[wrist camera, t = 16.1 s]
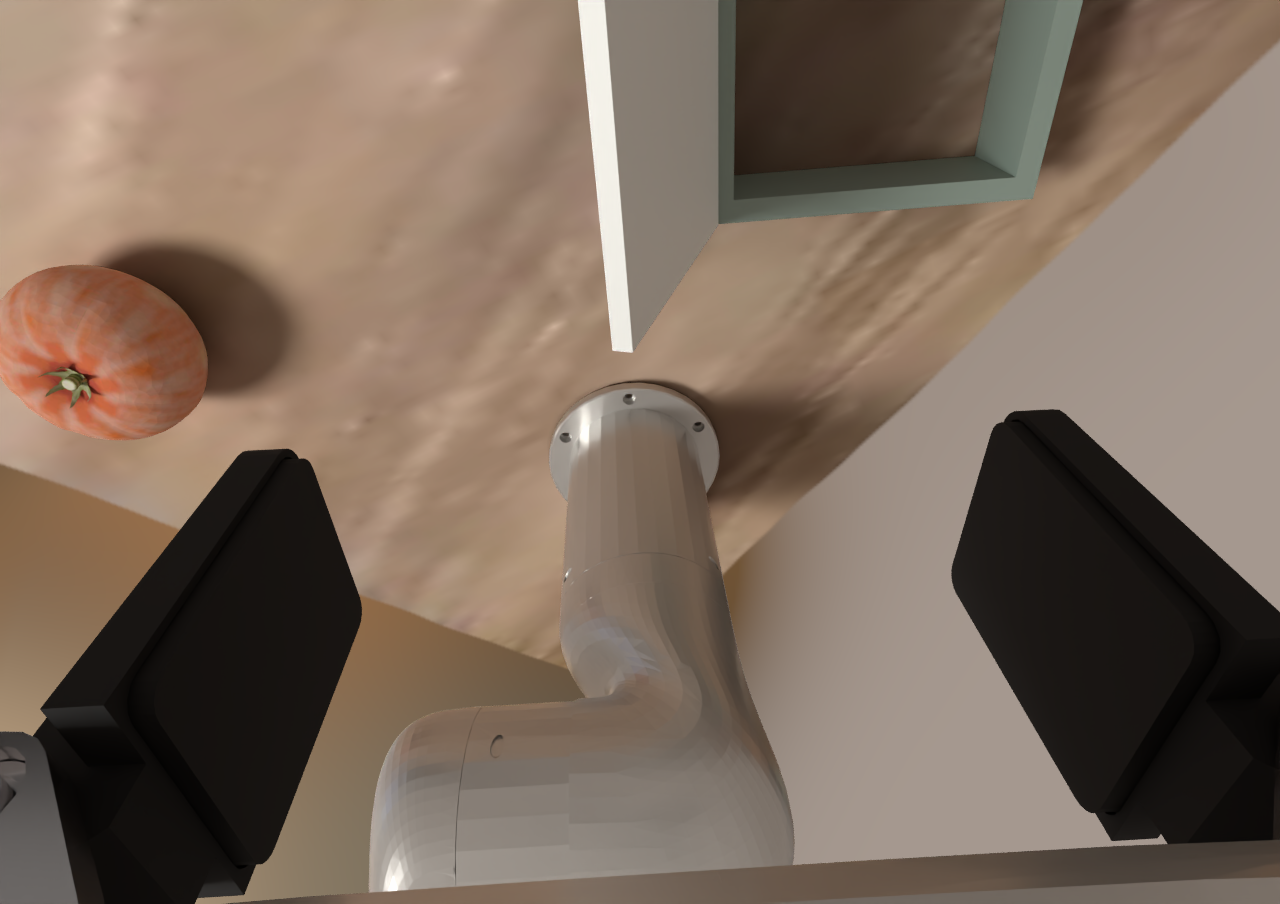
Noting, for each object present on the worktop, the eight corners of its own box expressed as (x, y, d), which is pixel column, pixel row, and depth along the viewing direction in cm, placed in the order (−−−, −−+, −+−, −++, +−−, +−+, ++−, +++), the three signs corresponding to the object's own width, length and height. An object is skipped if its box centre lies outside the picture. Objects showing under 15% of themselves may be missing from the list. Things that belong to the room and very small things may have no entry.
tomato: (265, 374, 47) (211, 440, 41) (129, 418, 49) (55, 488, 42) (154, 221, 41) (70, 269, 34) (3, 276, 42) (-105, 333, 36)
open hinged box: (990, 175, 42) (1226, 305, 26) (608, 206, 42) (612, 354, 26) (1076, -225, 31) (1548, -412, 16) (573, -184, 32) (544, -329, 16)
